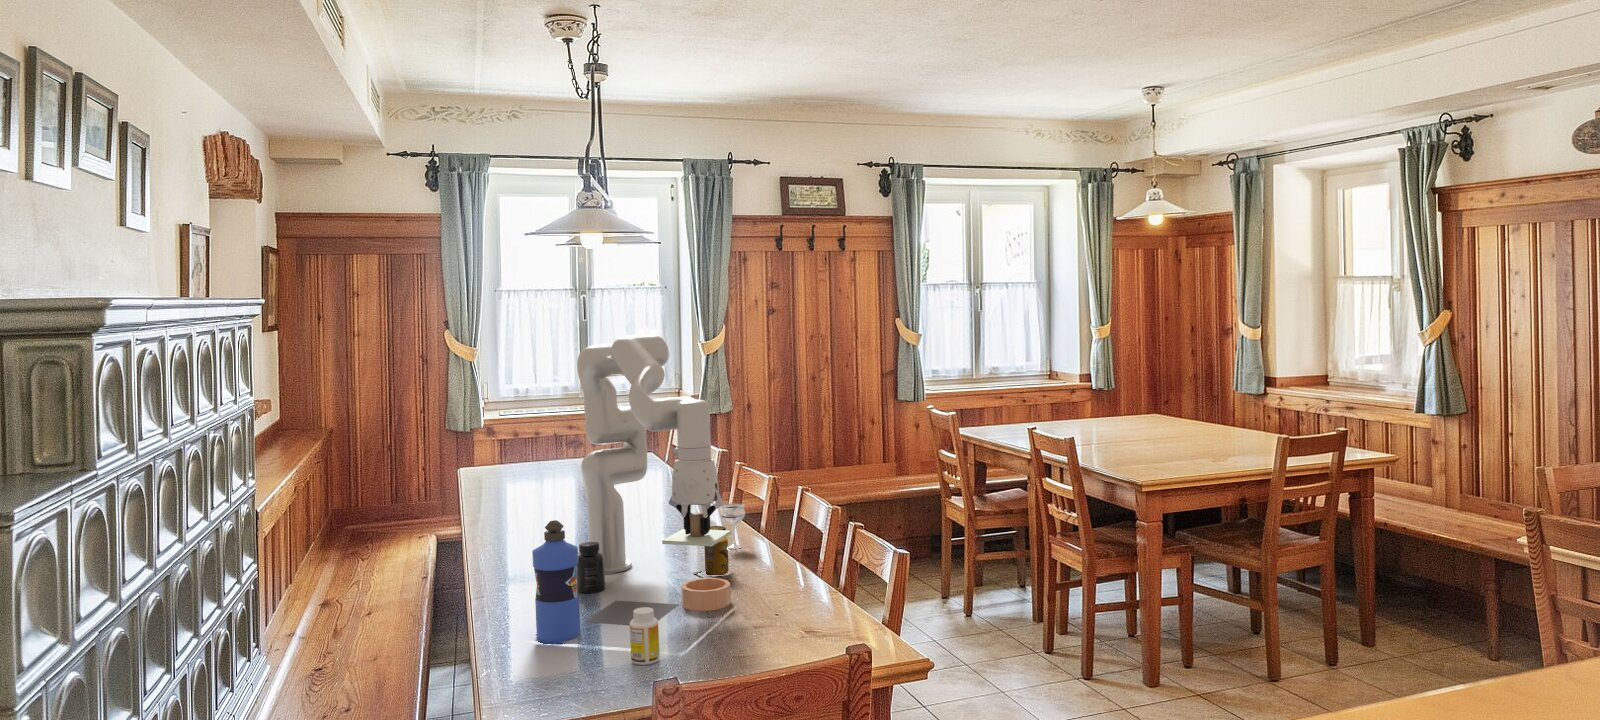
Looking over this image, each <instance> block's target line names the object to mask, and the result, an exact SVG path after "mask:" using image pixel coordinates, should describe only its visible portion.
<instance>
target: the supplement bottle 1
mask: <svg viewBox="0 0 1600 720" xmlns="http://www.w3.org/2000/svg"><path fill="white" fill-rule="evenodd" d="M599 550H600V549H599V543H598V542H588V541H585V542H582V543H579V545H578V551H579V553H580V555H578V565H577V579H576V583H577V588H578V594H580V595H581V594H583V595H592V594H599V593H602V592H605V590H606V576H605V575H606V574H605V570H604V557H603V555H602V554H601V553H599Z"/></svg>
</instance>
